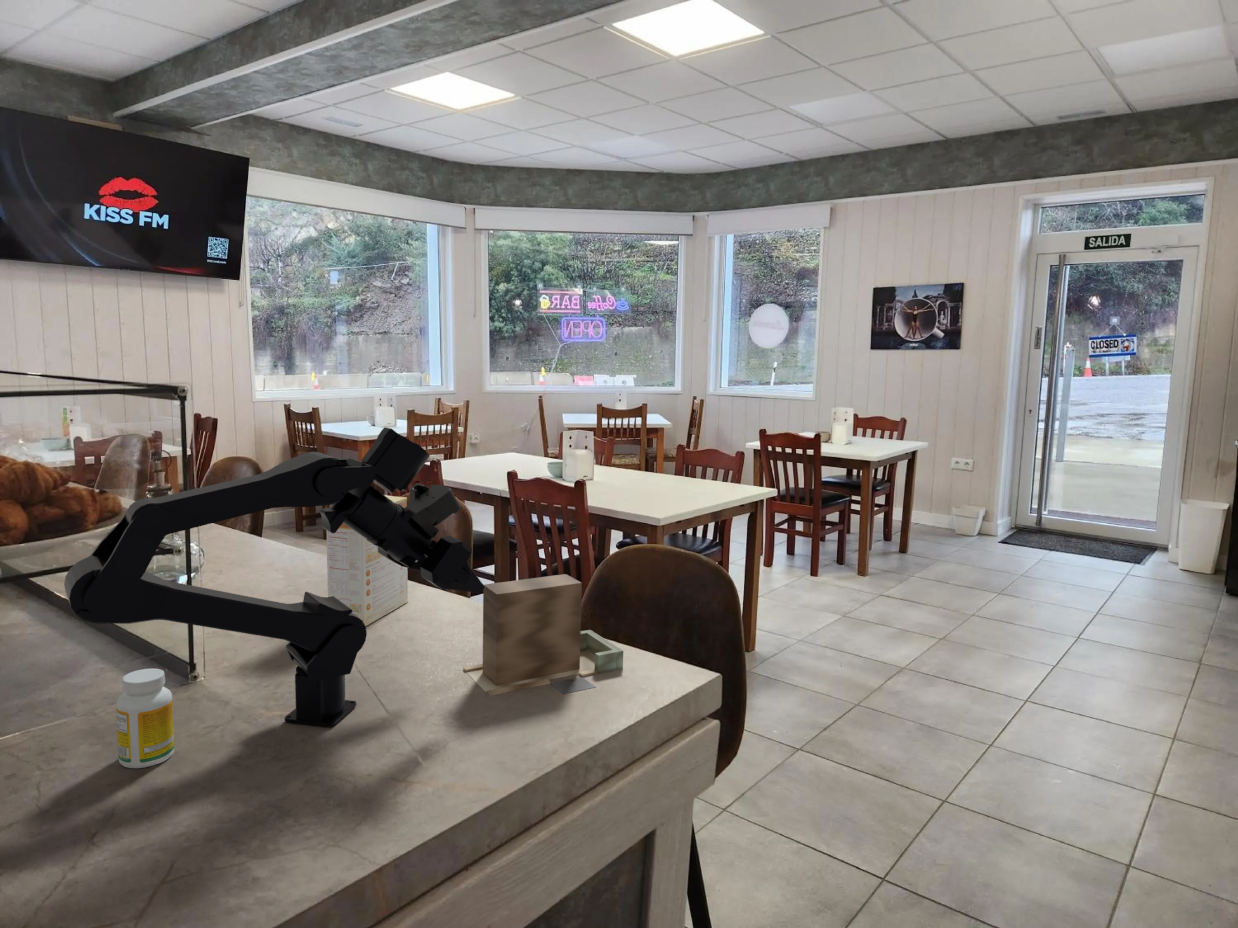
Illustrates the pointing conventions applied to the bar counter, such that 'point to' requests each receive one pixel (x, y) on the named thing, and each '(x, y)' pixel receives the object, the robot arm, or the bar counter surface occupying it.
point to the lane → (592, 662)
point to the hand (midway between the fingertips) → (466, 581)
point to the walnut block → (531, 628)
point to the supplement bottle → (144, 719)
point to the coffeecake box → (364, 574)
